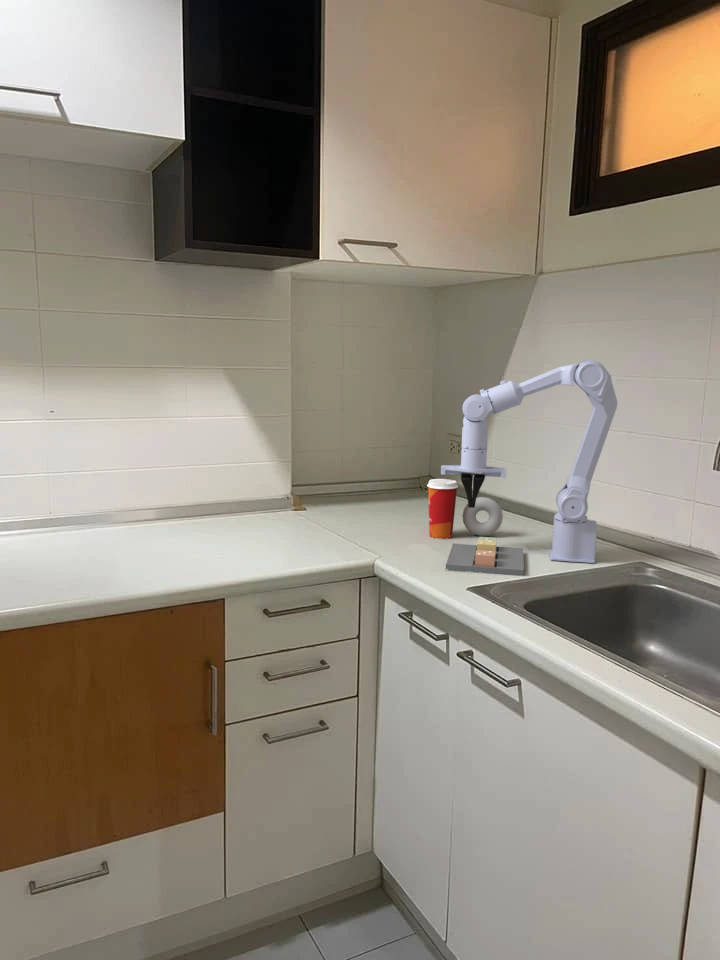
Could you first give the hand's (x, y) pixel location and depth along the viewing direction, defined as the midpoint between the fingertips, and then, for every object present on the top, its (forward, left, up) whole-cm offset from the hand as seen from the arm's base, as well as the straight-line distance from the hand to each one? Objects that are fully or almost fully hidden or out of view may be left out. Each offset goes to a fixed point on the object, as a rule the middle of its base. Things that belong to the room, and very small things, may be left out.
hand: (471, 506), depth 171 cm
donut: (-2, -15, -11) cm, 18 cm away
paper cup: (+8, -12, -11) cm, 18 cm away
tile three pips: (-4, +14, -10) cm, 18 cm away
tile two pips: (-4, +8, -9) cm, 13 cm away
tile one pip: (-4, +2, -10) cm, 11 cm away
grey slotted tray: (-4, +8, -10) cm, 14 cm away
